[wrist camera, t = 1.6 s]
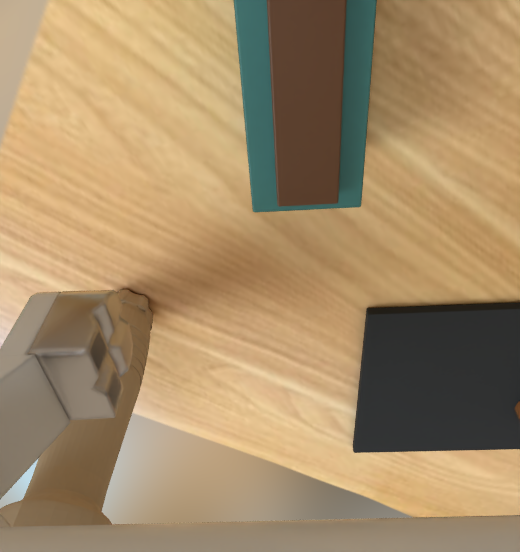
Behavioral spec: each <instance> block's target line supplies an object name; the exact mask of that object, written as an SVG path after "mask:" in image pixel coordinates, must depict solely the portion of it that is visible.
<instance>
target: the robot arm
mask: <svg viewBox="0 0 520 552" xmlns="http://www.w3.org/2000/svg"><path fill="white" fill-rule="evenodd" d="M122 307H123V305H122V302H121V300H120V297H119V295H118V293H117V292H115V291H113V290H104V291H63V292H39V293H36V294H34V295H32V296H31V297H30V298H29V300H28V302H27V304H26V305H25V307H24V309H23V310H22V312H21V314H20V316H19V317H18V319H17V321H16V322H15V324H14V326H13V328H12V329H11V331H10V333H9V334H8V336H7V338H6V340H5V341H4V343H3V345H2V346H1V348H0V499H1V498H2V497H3V496H4V495H5V494H6V493H7V491H8V490H9V489H10V488H11V487H12V486H13V485H14V484H15V483H16V482H17V480H18V479H19V478H20V477H21V476H22V475H23V474H24V473H25V472H26V471H27V470H28V469H29V468H30V466H31V465H32V464H33V463H34V462H35V461H36V460H37V459H38V458H39V457H40V456H41V455H42V453H43V452H44V451H45V450H46V449H47V448H48V447H49V446H50V445H51V444H52V443H53V441H54V440H55V439H56V438H57V437H58V436H59V435H60V434H61V433H62V432H63V431H64V430H65V428H66V427H67V426H68V425H69V424H70V420H85V419H101V418H115V416H116V413H117V410H118V406H119V403H120V399H121V396H122V392H123V389H124V388H123V385H122V383H121V380H120V377H121V376H122V375H124V374H125V373H126V372H127V371H128V370H129V368H130V364H131V360H132V350H133V340H132V333H131V329H130V326H129V323H128V322H127V321H125V320H124V319H123V318H121V317H120V313H121V310H122ZM0 552H520V515H510V516H464V517H419V518H379V519H378V518H376V519H334V520H292V521H249V522H248V521H247V522H202V523H159V524H158V523H157V524H115V525H68V526H24V527H11V526H10V524H9V523H8V522H7V521H6V519H5V518H4V517H3V516H2V515H1V514H0Z"/></svg>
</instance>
